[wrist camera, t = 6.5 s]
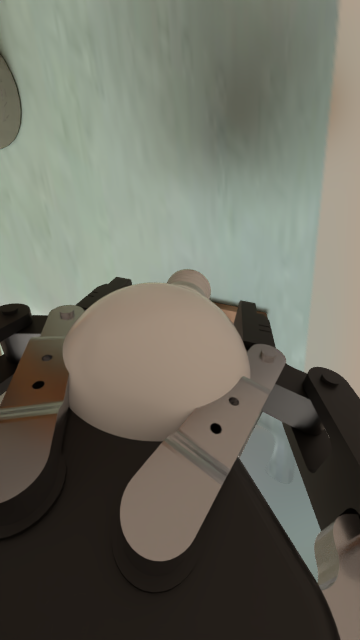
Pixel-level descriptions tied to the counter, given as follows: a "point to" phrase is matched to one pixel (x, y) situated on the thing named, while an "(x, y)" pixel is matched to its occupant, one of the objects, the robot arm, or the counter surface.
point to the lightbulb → (152, 357)
